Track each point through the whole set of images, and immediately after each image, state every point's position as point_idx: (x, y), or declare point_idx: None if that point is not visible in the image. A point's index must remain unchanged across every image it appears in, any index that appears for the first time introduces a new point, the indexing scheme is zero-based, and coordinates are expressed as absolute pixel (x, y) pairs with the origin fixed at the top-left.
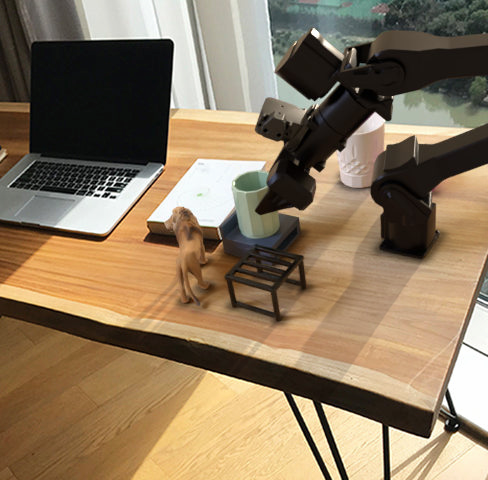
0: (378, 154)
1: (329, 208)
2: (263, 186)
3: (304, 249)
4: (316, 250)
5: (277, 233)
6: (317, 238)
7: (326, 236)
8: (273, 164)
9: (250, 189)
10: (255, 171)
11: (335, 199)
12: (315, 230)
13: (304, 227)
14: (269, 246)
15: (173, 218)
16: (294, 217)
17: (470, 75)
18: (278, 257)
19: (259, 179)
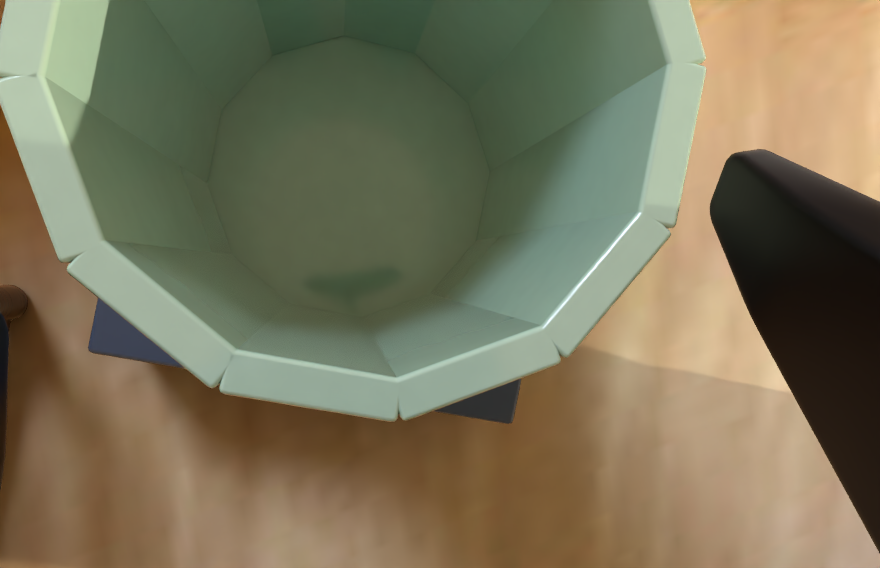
0: None
1: (739, 476)
2: (567, 163)
3: (330, 471)
4: (332, 544)
5: None
6: (447, 509)
7: (474, 553)
8: (870, 241)
9: (526, 17)
10: (663, 25)
11: (826, 480)
12: (522, 470)
13: (542, 395)
14: (122, 336)
15: None
16: (501, 394)
17: None
18: None
19: (609, 103)
